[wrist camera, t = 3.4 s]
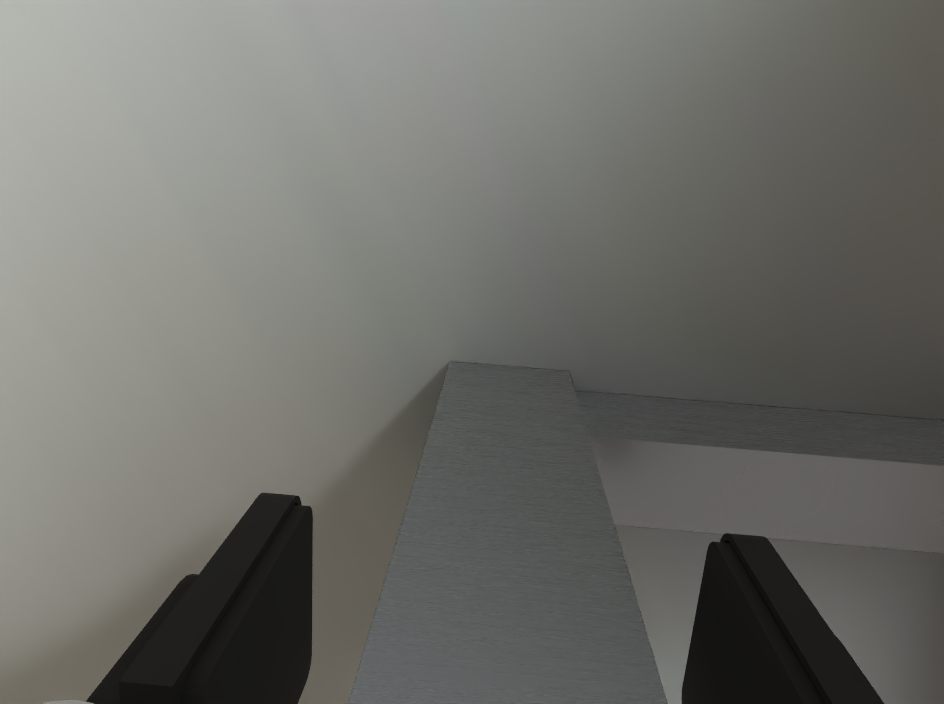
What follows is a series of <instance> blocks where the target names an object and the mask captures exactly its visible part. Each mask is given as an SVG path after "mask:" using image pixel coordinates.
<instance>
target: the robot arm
mask: <svg viewBox="0 0 944 704" xmlns="http://www.w3.org/2000/svg"><path fill="white" fill-rule="evenodd" d="M312 527H313V516H312V508H311V507H310V506H301V500H300V498H299V496H294V495H283V494H271V493H261V494H260V495H259V496H258V497H257V498H256V500H255V501H254V502H253V504H252V505H251V506H250V508H249V509H248V510H247V512H246V513H245V514H244V516H243V517H242V518H241V520H240V521H239V522H238V524H237V525H236V526H235V528H234V529H233V530H232V532H231V533H230V534H229V536H228V537H227V538H226V540H225V541H224V542H223V544H222V545H221V546H220V548H219V549H218V550H217V551H216V553H215V554H214V555H213V557H212V558H211V559H210V561H209V562H208V563H207V565H206V566H205V567H204V569H203V570H202V571H201V573H200V574H199V575H197V574H191V575H187V576H186V577H185V578H184V579H183V580H181V581H180V583H179V584H178V585H177V586H176V588H175V589H174V590H173V591H172V593H171V594H170V595H169V597H168V598H167V599H166V600H165V602H164V603H163V604H162V605H161V607H160V608H159V609H158V611H157V612H156V613H155V614H154V616H153V617H152V618H151V619H150V621H149V622H148V623H147V624H146V626H145V627H144V628H143V630H142V631H141V632H140V633H139V635H138V636H137V637H136V638H135V640H134V641H133V642H132V644H131V645H130V646H129V647H128V649H127V650H126V651H125V652H124V654H123V655H122V656H121V658H120V659H119V660H118V661H117V663H116V664H115V665H114V666H113V668H112V669H111V670H110V672H109V673H108V674H107V675H106V677H105V678H104V679H103V680H102V682H101V683H100V684H99V685H98V687H97V688H96V689H95V691H94V692H93V693H92V694H91V696H90V697H89V698H88V699H87V701H86V702H85V701H79V700H59V701H50V702H46V703H42V704H298V701H299V699H300V696H301V694H302V691H303V689H304V686H305V684H306V681H307V678H308V674H309V670H310V665H311V656H312ZM682 704H884V703H883V701H882V700H881V698H880V697H879V696H878V694H877V693H876V691H875V690H874V688H873V687H872V686H871V684H870V683H869V681H868V680H867V678H866V677H865V676H864V674H863V673H862V671H861V670H860V668H859V667H858V666H857V664H856V663H855V661H854V660H853V658H852V657H851V656H850V654H849V653H848V651H847V650H846V648H845V647H844V646H843V644H842V643H841V642H840V640H839V639H838V638H837V637H836V636H835V635H834V634H833V632H832V631H831V629H830V628H829V627H828V625H827V624H826V622H825V621H824V619H823V618H822V616H821V615H820V614H819V612H818V611H817V609H816V608H815V606H814V605H813V604H812V602H811V601H810V599H809V598H808V596H807V595H806V593H805V592H804V591H803V589H802V588H801V586H800V585H799V583H798V582H797V580H796V579H795V578H794V576H793V575H792V573H791V572H790V570H789V569H788V568H787V566H786V565H785V563H784V562H783V560H782V559H781V557H780V556H779V555H778V553H777V552H776V550H775V549H774V547H773V546H772V544H771V543H770V542H769V540H768V539H767V538H766V537H764V536H754V535H743V534H731V533H725V534H724V535H723V536H722V538H721V540H720V542H711V543H710V545H709V547H708V550H707V555H706V561H705V566H704V572H703V577H702V583H701V588H700V594H699V599H698V604H697V610H696V615H695V621H694V626H693V632H692V637H691V643H690V648H689V654H688V659H687V665H686V670H685V676H684V681H683V687H682Z"/></svg>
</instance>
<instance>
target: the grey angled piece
mask: <svg viewBox="0 0 944 704" xmlns="http://www.w3.org/2000/svg"><path fill="white" fill-rule="evenodd" d="M615 525H622V526H634V527H645V528H657V529H668V530H680V531H691V532H703V533H714V534H725V533H731V534H743V535H754V536H764V537H766V538H772V539H783V540H794V541H806V542H817V543H829V544H840V545H852V546H863V547H875V548H886V549H898V550H909V551H921V552H932V553H944V420H931V419H919V418H907V417H894V416H882V415H870V414H858V413H845V412H833V411H821V410H808V409H796V408H784V407H771V406H759V405H747V404H734V403H722V402H710V401H697V400H685V399H673V398H660V397H648V396H636V395H623V394H611V393H599V392H587V391H575V389H574V386H573V383H572V379H571V376H570V373H569V371H563V370H550V369H538V368H525V367H513V366H500V365H488V364H476V363H463V362H451V361H450V362H449V365H448V369H447V372H446V376H445V379H444V382H443V386H442V389H441V392H440V396H439V399H438V403H437V406H436V409H435V413H434V416H433V419H432V423H431V426H430V429H429V433H428V436H427V440H426V443H425V446H424V450H423V453H422V456H421V460H420V463H419V467H418V470H417V473H416V477H415V480H414V483H413V487H412V490H411V494H410V497H409V500H408V504H407V507H406V510H405V514H404V517H403V520H402V524H401V527H400V531H399V534H398V537H397V541H396V544H395V547H394V551H393V554H392V558H391V561H390V564H389V568H388V571H387V574H386V578H385V581H384V584H383V588H382V591H381V595H380V598H379V601H378V605H377V608H376V611H375V615H374V618H373V622H372V625H371V628H370V632H369V635H368V638H367V642H366V645H365V649H364V652H363V655H362V659H361V662H360V665H359V669H358V672H357V675H356V679H355V682H354V686H353V689H352V692H351V696H350V699H349V702H348V704H668V703H667V700H666V696H665V693H664V690H663V686H662V683H661V680H660V676H659V673H658V669H657V666H656V663H655V659H654V656H653V653H652V649H651V646H650V642H649V639H648V636H647V632H646V629H645V626H644V622H643V619H642V615H641V612H640V609H639V605H638V602H637V599H636V595H635V592H634V588H633V585H632V582H631V578H630V575H629V572H628V568H627V565H626V561H625V558H624V555H623V551H622V548H621V545H620V541H619V538H618V534H617V531H616V528H615Z"/></svg>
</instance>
